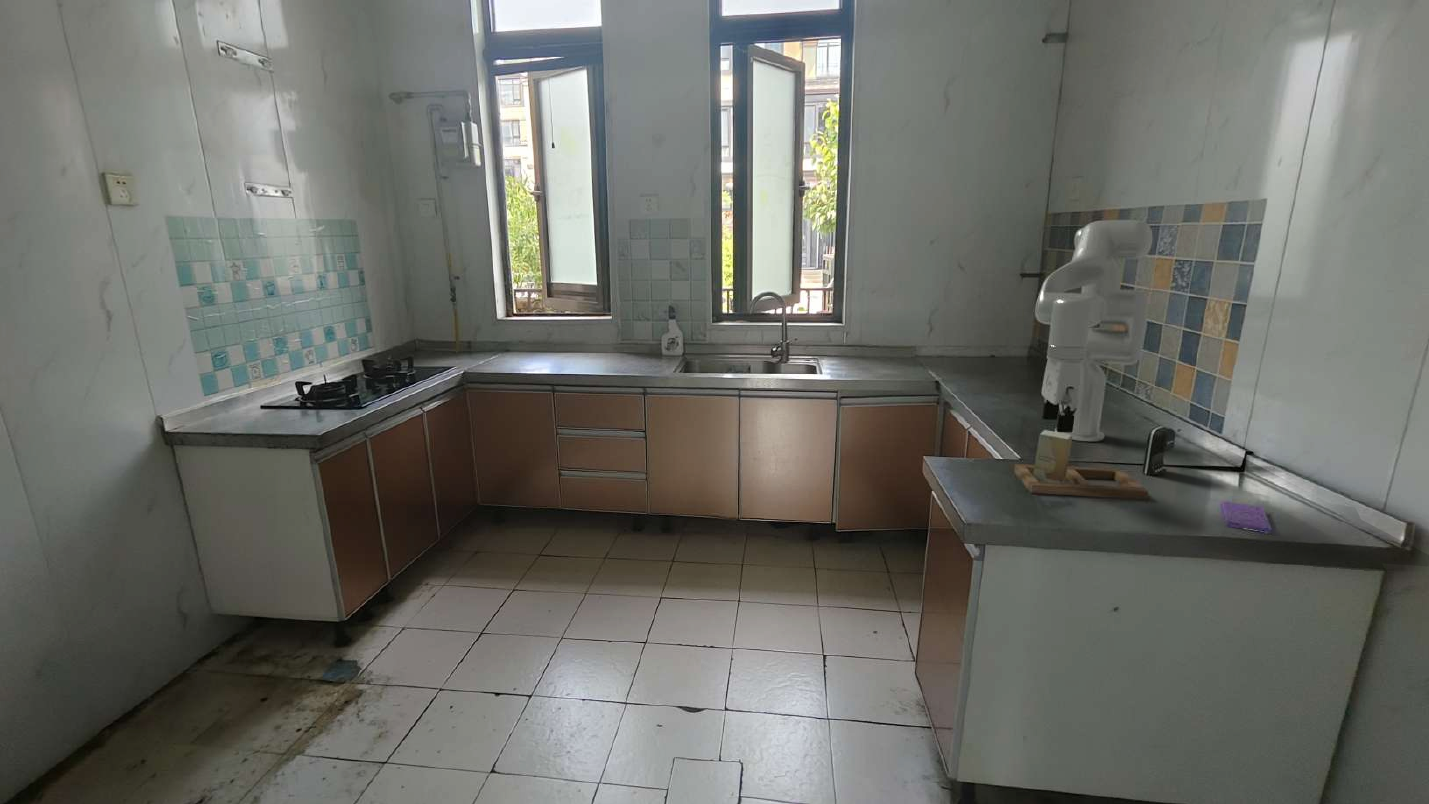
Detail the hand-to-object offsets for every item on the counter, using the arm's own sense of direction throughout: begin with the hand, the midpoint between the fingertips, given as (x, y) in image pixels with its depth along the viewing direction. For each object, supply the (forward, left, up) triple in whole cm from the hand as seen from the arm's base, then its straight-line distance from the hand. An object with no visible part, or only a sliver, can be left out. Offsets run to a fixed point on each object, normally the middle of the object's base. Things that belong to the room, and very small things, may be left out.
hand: (1056, 425), depth 146 cm
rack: (0, +6, -14) cm, 15 cm away
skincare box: (0, 0, -14) cm, 14 cm away
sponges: (+15, +33, -15) cm, 39 cm away
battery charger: (-11, +28, -14) cm, 33 cm away
